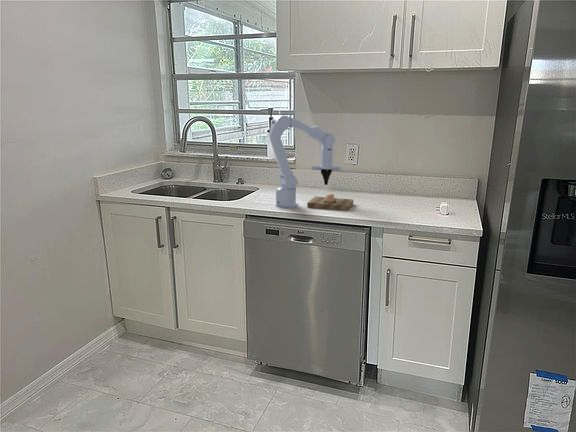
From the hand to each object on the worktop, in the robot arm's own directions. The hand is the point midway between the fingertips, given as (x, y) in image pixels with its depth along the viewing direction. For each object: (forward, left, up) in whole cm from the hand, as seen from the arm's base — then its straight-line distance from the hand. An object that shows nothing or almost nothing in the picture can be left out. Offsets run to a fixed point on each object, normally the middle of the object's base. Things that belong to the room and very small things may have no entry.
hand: (326, 184), depth 215 cm
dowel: (+4, -8, -9) cm, 13 cm away
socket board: (+4, -6, -9) cm, 12 cm away
